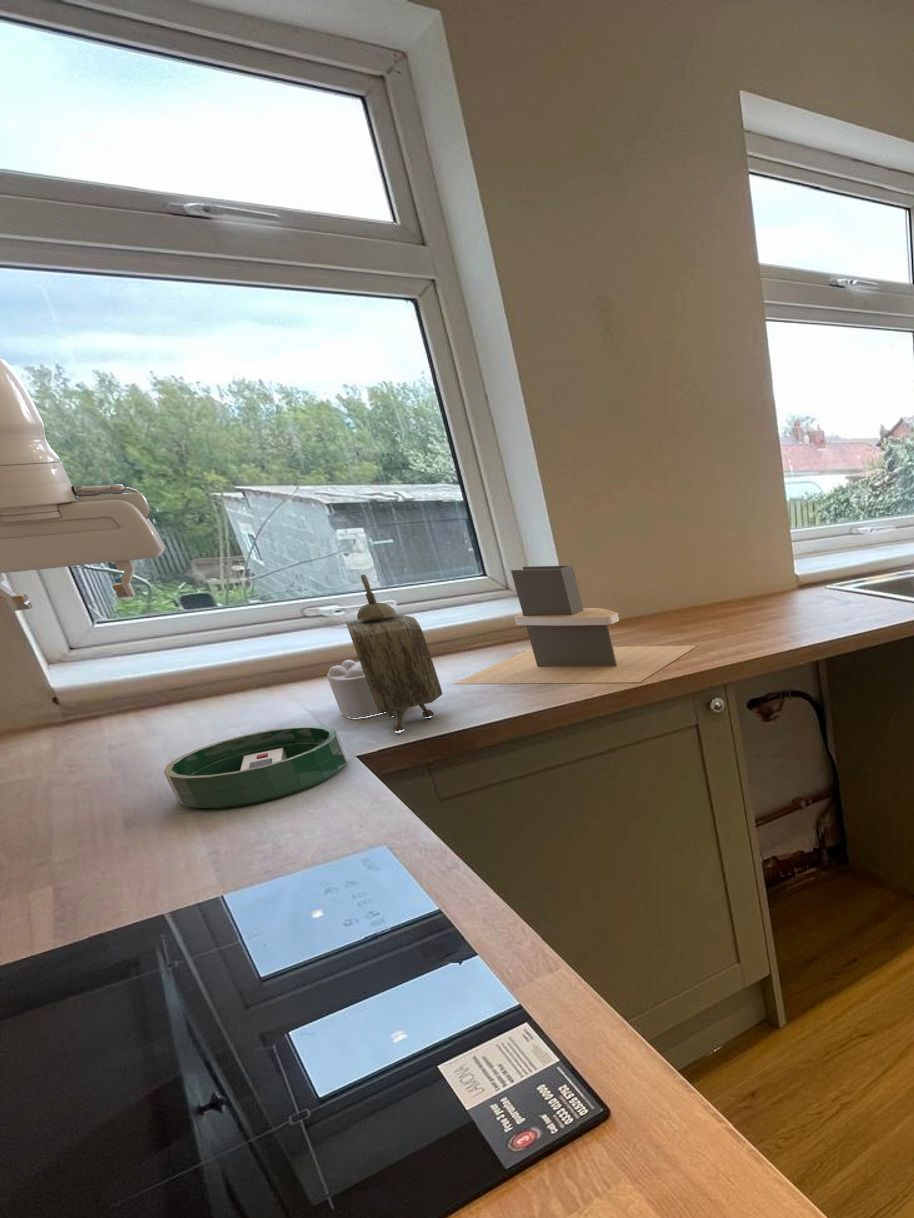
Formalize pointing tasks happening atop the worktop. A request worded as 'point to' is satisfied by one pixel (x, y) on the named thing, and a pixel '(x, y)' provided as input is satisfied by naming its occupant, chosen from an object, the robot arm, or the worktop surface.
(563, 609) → the architectural model
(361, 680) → the lumpy-topped squat cylinder
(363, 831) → the worktop surface
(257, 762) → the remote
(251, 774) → the bowl
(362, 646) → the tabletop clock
